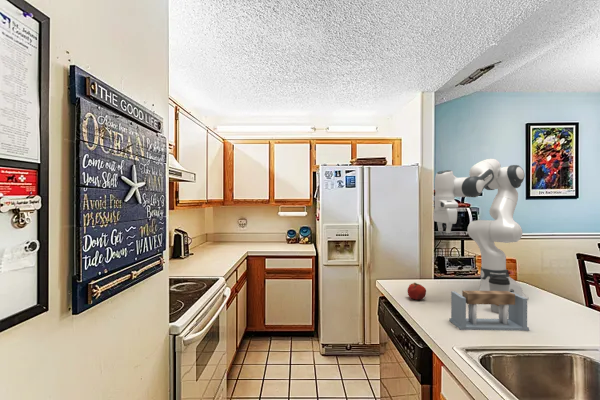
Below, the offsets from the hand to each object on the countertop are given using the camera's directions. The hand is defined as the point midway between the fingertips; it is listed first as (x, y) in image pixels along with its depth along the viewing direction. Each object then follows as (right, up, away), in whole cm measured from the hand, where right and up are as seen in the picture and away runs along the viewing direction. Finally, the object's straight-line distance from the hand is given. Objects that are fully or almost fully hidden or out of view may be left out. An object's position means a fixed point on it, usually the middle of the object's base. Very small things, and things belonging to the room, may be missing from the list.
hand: (444, 232), depth 170 cm
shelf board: (+4, -25, -32) cm, 41 cm away
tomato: (-12, -34, +5) cm, 37 cm away
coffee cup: (+18, -34, -14) cm, 41 cm away
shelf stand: (+4, -34, -32) cm, 47 cm away
